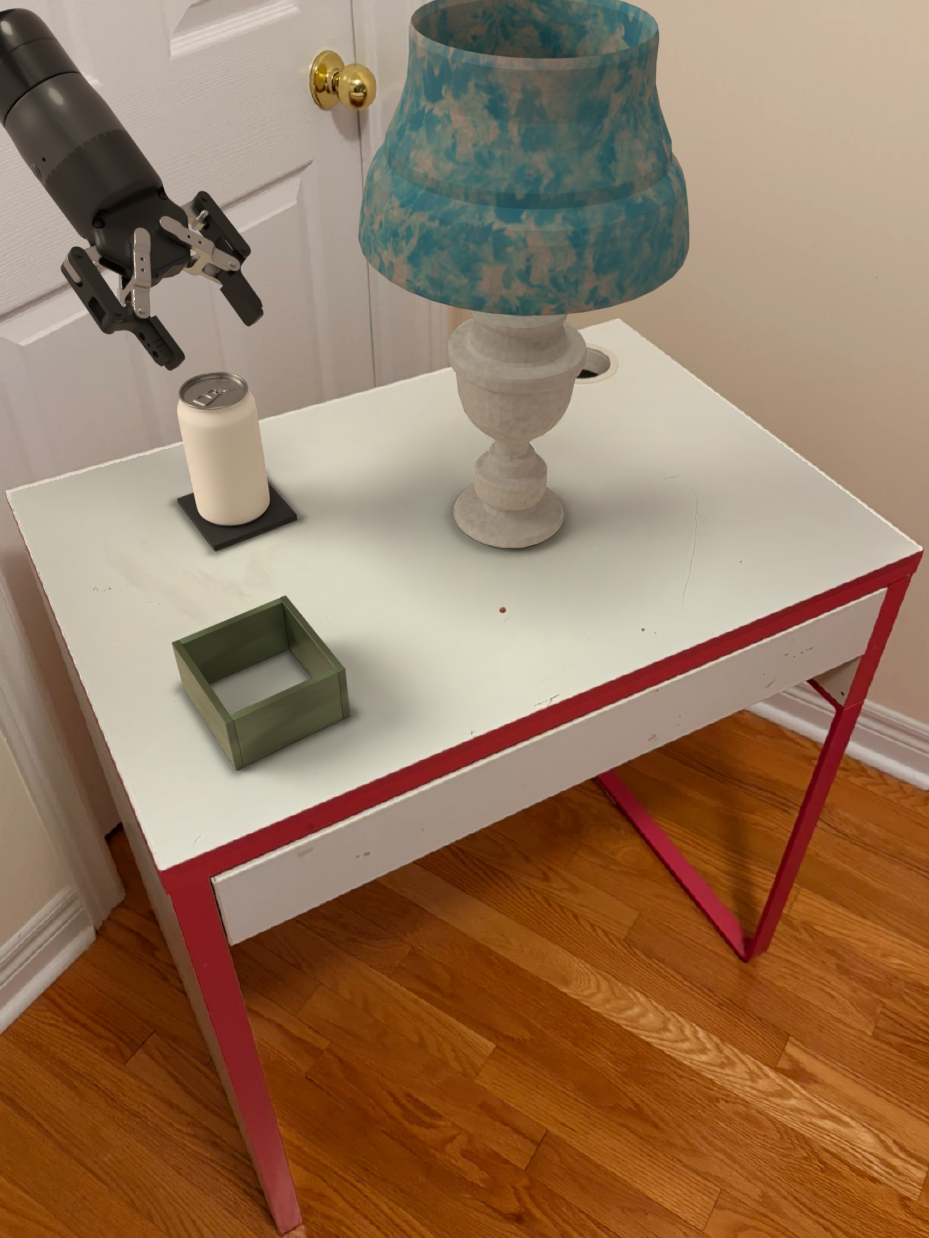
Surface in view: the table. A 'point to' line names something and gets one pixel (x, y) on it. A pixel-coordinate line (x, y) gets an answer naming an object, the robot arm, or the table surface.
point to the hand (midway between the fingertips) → (218, 342)
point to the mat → (229, 535)
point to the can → (223, 448)
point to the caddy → (280, 713)
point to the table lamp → (525, 214)
